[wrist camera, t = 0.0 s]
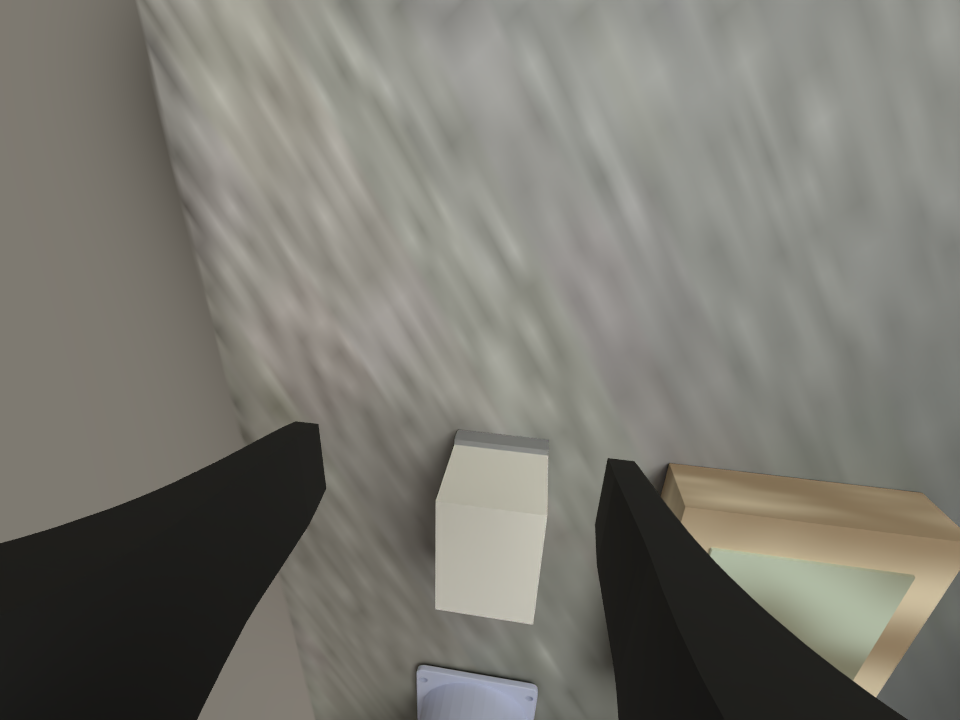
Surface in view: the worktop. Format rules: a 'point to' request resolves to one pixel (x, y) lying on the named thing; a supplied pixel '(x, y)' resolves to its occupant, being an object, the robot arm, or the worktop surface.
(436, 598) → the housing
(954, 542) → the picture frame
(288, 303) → the worktop surface
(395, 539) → the worktop surface
